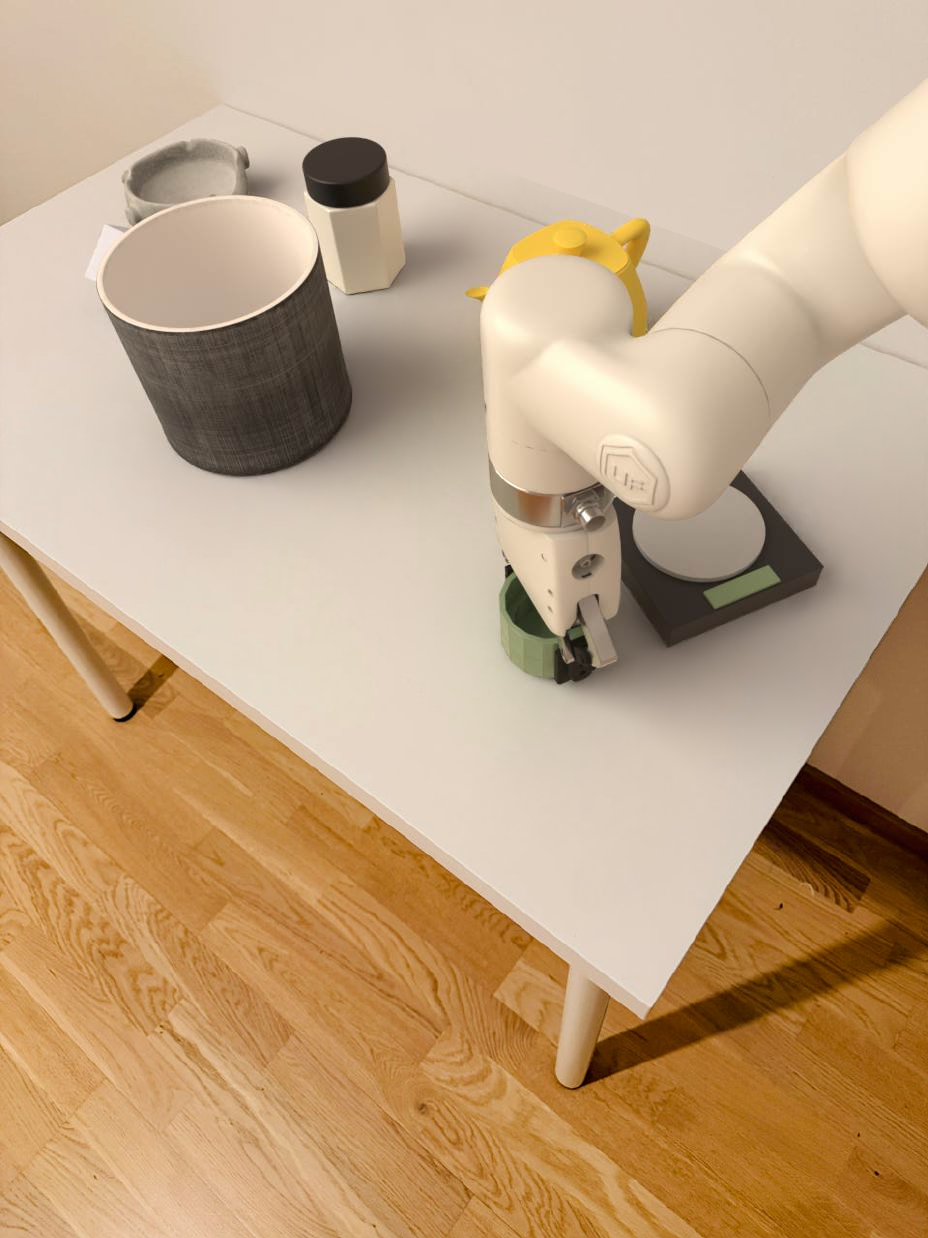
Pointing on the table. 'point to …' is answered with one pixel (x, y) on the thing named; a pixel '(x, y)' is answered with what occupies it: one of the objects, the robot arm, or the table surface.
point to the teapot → (589, 255)
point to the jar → (354, 213)
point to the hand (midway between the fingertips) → (550, 631)
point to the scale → (712, 562)
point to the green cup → (527, 631)
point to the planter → (230, 331)
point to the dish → (183, 176)
